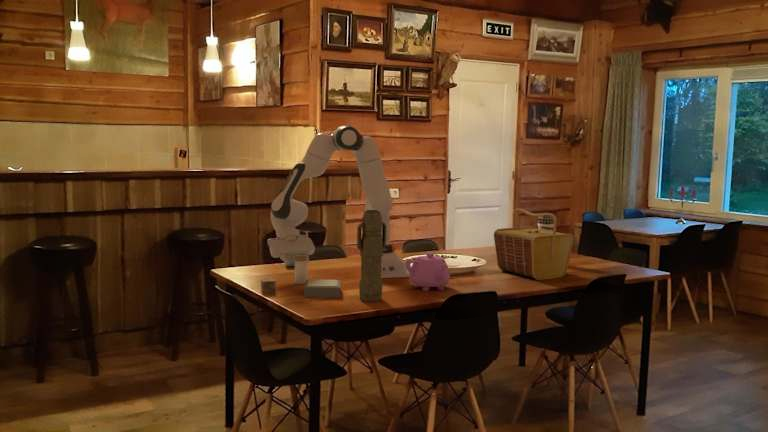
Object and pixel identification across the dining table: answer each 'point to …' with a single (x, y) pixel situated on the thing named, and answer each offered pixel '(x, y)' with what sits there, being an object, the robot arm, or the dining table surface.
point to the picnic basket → (533, 250)
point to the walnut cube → (268, 286)
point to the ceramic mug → (292, 261)
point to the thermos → (371, 255)
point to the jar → (300, 270)
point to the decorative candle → (545, 223)
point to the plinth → (322, 288)
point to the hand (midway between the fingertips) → (297, 262)
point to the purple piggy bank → (428, 272)
